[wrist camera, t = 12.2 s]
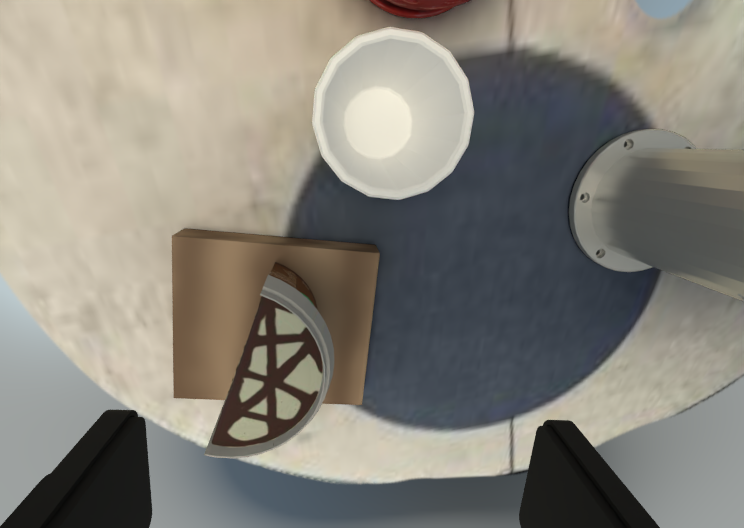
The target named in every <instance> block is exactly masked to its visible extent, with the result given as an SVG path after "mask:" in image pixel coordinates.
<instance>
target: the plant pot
mask: <svg viewBox="0 0 744 528" xmlns="http://www.w3.org/2000/svg"><path fill="white" fill-rule="evenodd" d="M370 1H371V2H372V3H374V4H375V5H376V6H378V7H379V8H381V9H383V10H385V11H387V12H389V13H391V14H394V15H397V16H401V17H406V18H426V17H431V16H435V15H438V14H441V13H443V12H446V11H448V10H450V9H451V8H453V7H455V6H458V5H461V4H463V3H466V2H469V1H471V0H370Z"/></svg>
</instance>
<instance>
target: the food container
mask: <svg viewBox="0 0 744 528" xmlns="http://www.w3.org/2000/svg"><path fill="white" fill-rule="evenodd" d="M260 295H261V296H262V297H261V299H260V303H259V307H258V310H257V313H256V314H255V316H254V317H255V318H254V321H253V324H252V327H251V330H250V333H249V336H248V339H247V341H246V344H245V345H244V349H243V353H242V356H241V358H240V362H239V364H238V365H237V368H236V373H235V376H234V378H233V379H232V384H231V386H230V389H229V391H228V394H227V397H226V399H225V402H224V405H223V407H222V410H221V412H220V415H219V418H218V420H217V423H216V425H215V428H214V431H213V433H212V436H211V438H210V441H209V444H208V446H207V449H206V451H205V454H204V455H206V456H211V457H218V458H241V457H249V456H254V455H258V454H262V453H265V452H267V451H270V450H273V449H275V448H277V447H279V446H281V445H283V444H285V443H286V442H288V441H289V440H290V439H292V438H293V437H295V436H296V435H297V434H298V433H299V432H300V431H301V430H302V429H303V428H304V427H305V426H306V425H307V424H308V423H309V422H310V421H311V420H312V419H313V417H314V416H315V414H316V413H317V412H318V410H319V408H320V406H321V405H322V403H323V401H324V399H325V396H326V394H327V391H328V389H329V386H330V382H331V379H332V376H333V369H334V347H333V343H332V339H331V335H330V332H329V330H328V327H327V325H326V323H325V321H324V319H323V318H322V316H321V315H320V313H319V311H318V309H317V304H316V300H315V298H314V295H313V293H312V291H311V290H310V288H309V286H308V285H307V284H306V282H305V281H304V280H303V279H302V278H301V277H300V276H299V275H298V274H296V273H295V272H294V271H292V270H291V269H289V268H288V267H286V266H284V265H281V264H279V263H277V262H275V263H274V265H273V268H272V270H271V272H270V274H269V275H268V276H267V279H266V281H265V284H264V286H263V289H262V291H261V294H260Z"/></svg>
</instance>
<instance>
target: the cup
mask: <svg viewBox="0 0 744 528" xmlns="http://www.w3.org/2000/svg"><path fill="white" fill-rule="evenodd" d="M473 117H474V108H473V103H472V98H471V92H470V87H469V82H468V78H467V77H466V75H465V74H464V72H463V71H462V69H461V67H460V66H459V64H458V63H457V61H456V60H455V58H454V56H453V55H452V53H451V52H450V51H449V50H448V49H446V48H445V47H443V46H442V45H441V44H439V43H438V42H436V41H435V40H433V39H432V38H430V37H429V36H427V35H426V34H424V33H423V32H419V31H413V30H407V29H401V28H395V27H386V28H383V29H379V30H376V31H372V32H368V33H365V34H361V35H358V36H356V37H355V38H354V39H352V40H351V41H350V42H349V43H348V44H347V45H345V46H344V47H343V48H342V49H341V50H339V51H338V52H337V53H336V54H335V55H334V56H332V57H331V58H330V60H329V62H328V64H327V66H326V68H325V70H324V72H323V74H322V76H321V78H320V80H319V82H318V84H317V86H316V88H315V94H314V106H313V118H312V125H313V129H314V132H315V135H316V139H317V142H318V145H319V149H320V152H321V155H322V157H323V158H324V160H325V161H326V162H327V163H328V165H329V166H330V167H331V168H332V170H333V171H334V172H335V174H336V175H337V176H338V177H339V179H340V180H341V181H342V182H344V183H345V184H347V185H349V186H351V187H353V188H354V189H356V190H358V191H360V192H362V193H363V194H365V195H367V196H369V197H377V198H386V199H395V200H400V199H404V198H407V197H411V196H414V195H418V194H421V193H425V192H428V191H429V190H430V189H432V188H433V187H434V186H436V185H437V184H438V183H439V182H441V181H442V180H443V179H444V178H446V177H447V176H448V175H449V174H451V173H452V172H453V170H454V169H455V167H456V165H457V163H458V162H459V160H460V158H461V157H462V155H463V153H464V152H465V150H466V148H467V147H468V145H469V140H470V134H471V128H472V122H473Z"/></svg>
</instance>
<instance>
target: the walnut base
mask: <svg viewBox="0 0 744 528" xmlns="http://www.w3.org/2000/svg"><path fill="white" fill-rule="evenodd" d="M379 255H380V253H379V251H378V249H377V247H376V245H371V244H360V243H348V242H336V241H324V240H313V239H301V238H289V237H278V236H266V235H254V234H243V233H231V232H219V231H208V230H196V229H183V230H181V231H180V232H178V233H176V234H175V235H173V236H172V285H173V373H174V398H187V399H215V400H225V399H226V397H227V394H228V391H229V389H230V386H231V384H232V379H233V378H234V376H235V373H236V368H237V365H238V364H239V362H240V358H241V356H242V353H243V349H244V345H245V344H246V341H247V339H248V336H249V333H250V330H251V327H252V324H253V321H254V318H255V317H254V316H255V314H256V313H257V310H258V307H259V303H260V299H261V297H262V296H261V295H260V294H261V291H262V289H263V286H264V284H265V281H266V279H267V276H268V275H269V274H270V272H271V270H272V268H273V265H274V263H275V262H277V263H279V264H281V265H284V266H286V267H288V268H289V269H291V270H292V271H294V272H295V273H296V274H298V275H299V276H300V277H301V278H302V279H303V280H304V281H305V282H306V284H307V285H308V286H309V288H310V290H311V291H312V293H313V295H314V298H315V300H316V304H317V309H318V311H319V313H320V315H321V316H322V318H323V319H324V321H325V323H326V325H327V327H328V330H329V332H330V335H331V339H332V343H333V347H334V369H333V376H332V379H331V382H330V386H329V389H328V391H327V394H326V396H325V399H324V401H323V403H324V404H351V405H362V398H363V390H364V382H365V373H366V365H367V356H368V348H369V340H370V331H371V323H372V314H373V306H374V298H375V289H376V281H377V272H378V264H379Z"/></svg>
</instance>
